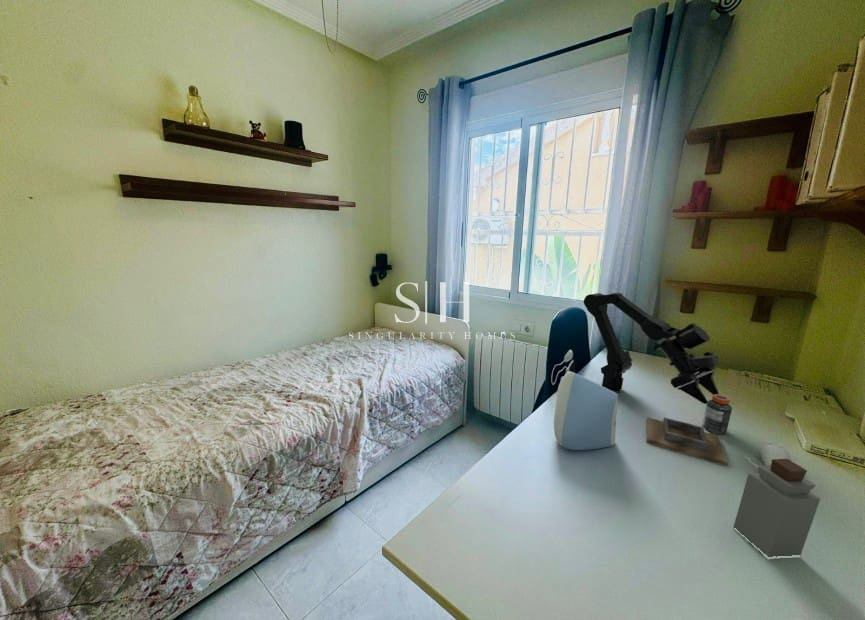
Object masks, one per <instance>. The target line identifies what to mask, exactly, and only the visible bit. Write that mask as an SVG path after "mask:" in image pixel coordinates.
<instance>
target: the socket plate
mask: <svg viewBox="0 0 865 620" xmlns="http://www.w3.org/2000/svg"><path fill="white" fill-rule="evenodd" d="M645 422H646V443H647V444H650V445H653V446H658V447H660V448H663V449H668V450H671V451H673V452H674V451H675V452H678V453H681V454H685V455H688V456H691V457H694V458H699V459H702V460H704V461H705V460H706V461H709V462H710V463H711V462H712V463H714V464H715V463H716V464H719V465H722V466H725V467H727V466H728V460H727V457H726V454H725V451H724V449H723V446H722V443H721V442H722V441H720V437H719V434H717V435H716V434H715V433H711V432H705V429H704V428H703V426H701V425H697V424H691V423H688V422H683V421H680V420H677V419H676V420H675V419H673V418H668V417H663V420H659V419H656V418H653V417H648V416H646V421H645Z"/></svg>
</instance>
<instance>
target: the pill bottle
mask: <svg viewBox="0 0 865 620" xmlns="http://www.w3.org/2000/svg"><path fill="white" fill-rule="evenodd" d="M707 401H708V403H706V404H705V410H704V414H703V418H702V426H701V427H703V429H704V430H706V431H708V432H709V433H711V434H714V435H716V434H717V435H725V434H727V432H728V428H729V424H730V423H729V422H730V418H731V415H732V410H733V408H732V406H731V405H730V401H731V399H730V398H729V397H727V396H726V395H723V394H719V395H718V394H714V395H713V394H712V398H711V399H709V400H707Z"/></svg>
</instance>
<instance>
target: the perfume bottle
mask: <svg viewBox="0 0 865 620" xmlns="http://www.w3.org/2000/svg"><path fill="white" fill-rule="evenodd" d="M757 466H758V468H757V469H758V472H750V473H748V475H747V478H746V481H745V485H744V488H743V492H742V495H741V499H740V502H739V506H738V510H737V513H736V516H735V521H734V523H733V527H734V528H736V529H737V530H738V531H739V532H740V533H741V534H742V535H744V536H745V537H746V538H747V539H748V540H749V541H750V542H751V543H753V544H754V545H755V546H756V547H757V548H759V549H760V550H761V551H762V552H763V553H764V554H766V555H767V556H768V557H773V556H776V557H777V556H792V555H802V553H803V550H804V548H805V547H804V546H805V544H806V541H807V538H808V535H809V532H810V530H811V526H812V524H813V521H814V519H815V515H816V513H817V509H818V507H819V504H820V501H821V498H820V497H819V496H817V495H816V494H814V493H813V492H812V490H813V489H814V488H815V487H816V486H817V485H816V484H815V483H814V482H812V481H810V480H809V479H808V478H805V476H806V474H807V471H808V470H807V469H805V468H804V467H802V466H801V465H799V464H797V463H795V462H794V461H792V460H791V461H790V460H789V459H772V463H771V465H765V464H764V465H757ZM807 479H808V480H807Z"/></svg>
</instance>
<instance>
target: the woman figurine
mask: <svg viewBox="0 0 865 620" xmlns="http://www.w3.org/2000/svg"><path fill="white" fill-rule="evenodd" d="M758 450H759V451H758V452H759V454H760V455H759V456H760V458H761V460H762V462H763V464H764V466H765V465H771V463H772V459H789V460H790V461H792V457H791V455H790V452H789V451H787V450H786V449H784V448H783V447H782V446H776V445H773V444H772V443H768V444H763V445H762V446H760V447H759V448H758ZM744 458H745V460H746V461H747V462H749V463H750V464H752V465H753V466H754V467H755V468H756V469H758V466H759V465H757V464H756V463H754V462H753V461H752V460H751V458H750V457H749V456H748V457H747V456H744ZM806 479H807V480H809V478H806Z"/></svg>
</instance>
